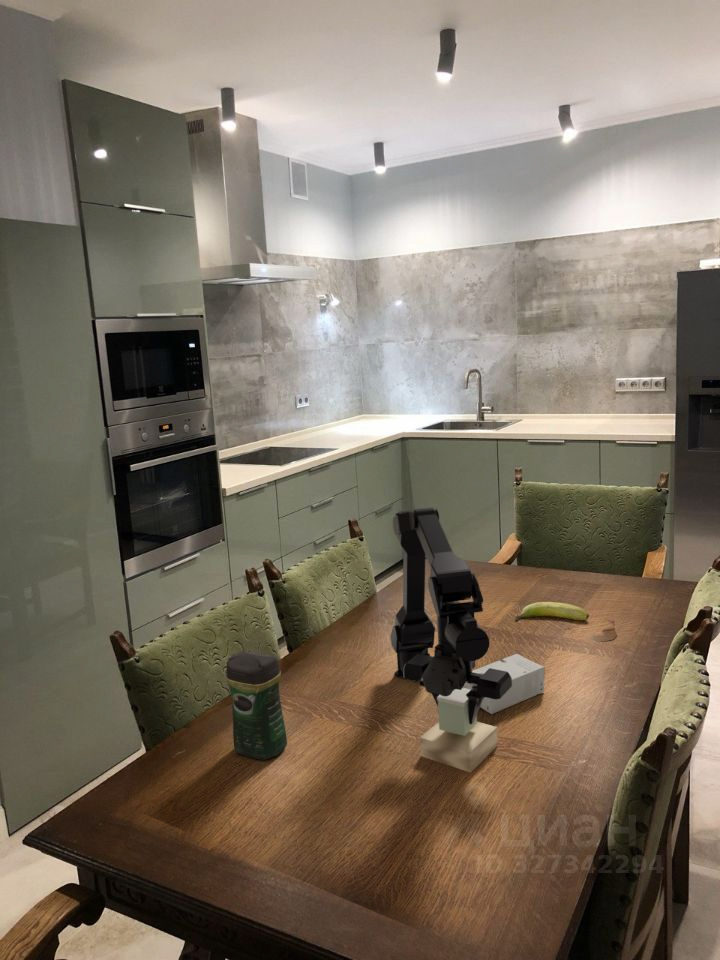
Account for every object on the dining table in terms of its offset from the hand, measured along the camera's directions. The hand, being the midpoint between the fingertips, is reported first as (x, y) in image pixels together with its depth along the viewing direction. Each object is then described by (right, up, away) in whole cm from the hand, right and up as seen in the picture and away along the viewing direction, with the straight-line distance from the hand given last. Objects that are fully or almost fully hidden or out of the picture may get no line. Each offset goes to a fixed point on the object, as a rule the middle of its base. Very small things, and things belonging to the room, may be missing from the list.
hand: (458, 719), depth 138 cm
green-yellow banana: (+31, +7, +60) cm, 68 cm away
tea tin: (0, -1, 0) cm, 1 cm away
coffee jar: (-36, -7, +6) cm, 37 cm away
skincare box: (+18, +3, +24) cm, 30 cm away
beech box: (0, -6, +1) cm, 6 cm away
